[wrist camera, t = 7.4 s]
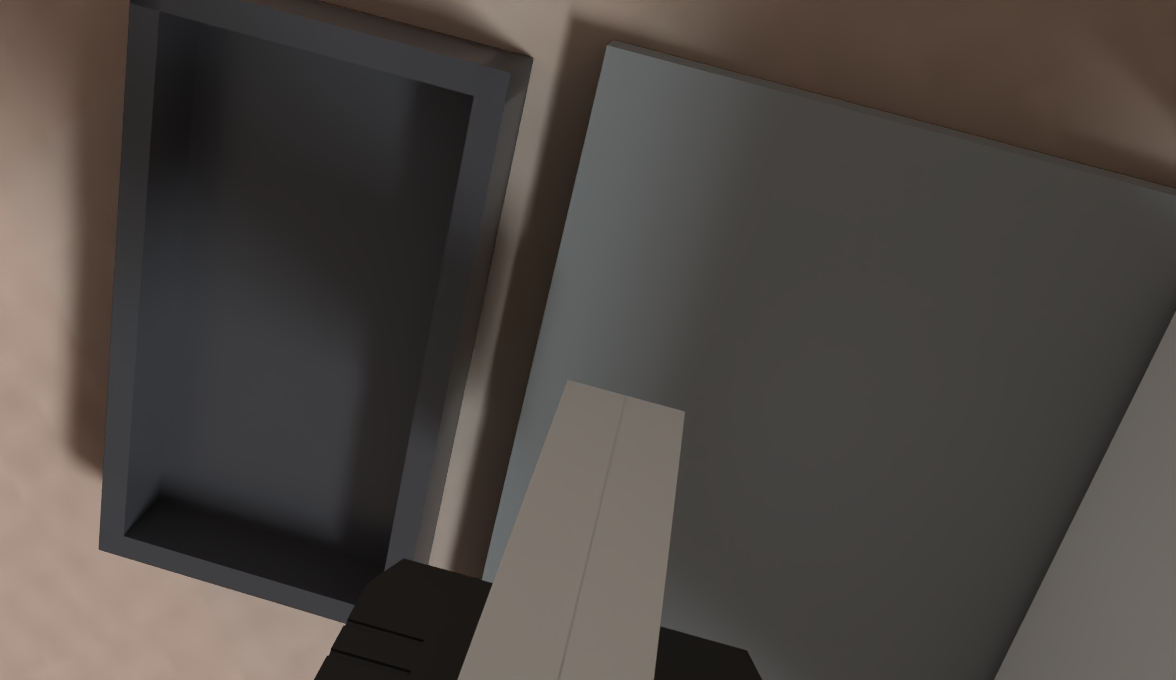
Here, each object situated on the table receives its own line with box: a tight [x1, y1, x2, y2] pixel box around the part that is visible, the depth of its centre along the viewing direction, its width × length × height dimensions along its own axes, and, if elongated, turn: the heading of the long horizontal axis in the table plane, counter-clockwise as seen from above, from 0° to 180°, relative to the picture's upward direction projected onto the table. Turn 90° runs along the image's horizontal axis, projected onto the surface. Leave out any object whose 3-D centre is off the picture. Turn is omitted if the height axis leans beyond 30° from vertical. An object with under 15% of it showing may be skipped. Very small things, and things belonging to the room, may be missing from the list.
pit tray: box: [99, 0, 534, 624], centre depth 16 cm, size 5×9×1 cm, turn 167°
